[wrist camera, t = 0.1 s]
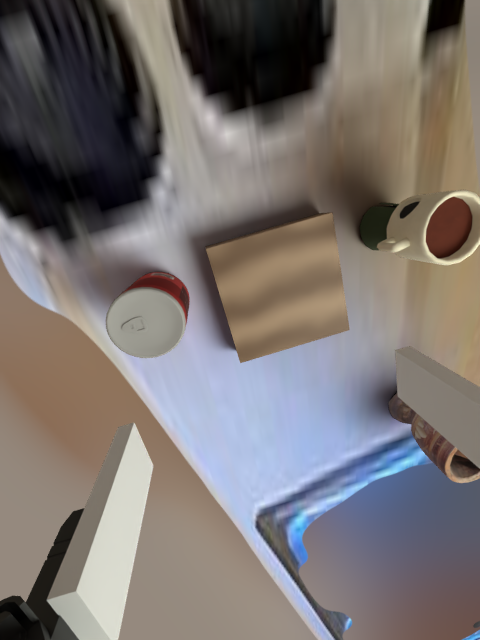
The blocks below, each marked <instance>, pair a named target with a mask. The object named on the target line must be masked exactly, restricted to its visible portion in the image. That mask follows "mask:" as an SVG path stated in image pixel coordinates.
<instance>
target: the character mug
mask: <svg viewBox="0 0 480 640" xmlns="http://www.w3.org/2000/svg"><path fill="white" fill-rule="evenodd" d="M380 204H389V205H393V206H385V207H371V208H370V209H369V210H368V211H367V212H366V214H365V215H364V216H363V219H362V221H361V224H360V232H361V238H362V239H363V241H364V243H365V245H366V246H367V247H369V248H370V249H372V250H380V251H385V252H394V253H395V254H396V255H398V256H399V257H402V258H407V259H412V260H418V261H424V262H429V263H435V264H441V265H450V264H454V263H459V262H461V261H462V260H464V259H465V258H467V257H468V256H470V255H471V254H472V253H473V252H474V251H475V249H476V248H477V247H478V246H479V245H480V197H479V196H478V195H477V194H476V193H474V192H471V191H468V190H455V191H445V192H439V193H432V194H422V195H416V196H412V197H409V198H407V199H405V200H404V201H402V202H401V203H400V204H393V203H380Z"/></svg>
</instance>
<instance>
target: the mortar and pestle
mask: <svg viewBox="0 0 480 640" xmlns="http://www.w3.org/2000/svg"><path fill="white" fill-rule="evenodd" d="M388 404H389V410H390V413H391V415H392V417H393V418H394V419H396V420H398V421H400V422H402V423H407V424H412V425H411V431H412V434H413V437H414V438H415V440H416V442H417V443H418V445H419V446H420V448H421V449H422V451H423V452H424V453H425V454H426V455H427V456H428V457H429V459H430V460H431V461H432V462H433V463H434V464H435V465H436V466H437V467H438V468H439V469H440V470H441V471H442V472H443V473H444V474H445V475H446V476H447V477H449V479H451V480H452V481H454V482H458V483H464V482H471V481H473V480H476V479H479V478H480V468H478V467H477V466H476V465H475V464H474V463H473V462H472V461H470V460H469V459H468V458H467V457H466V456H465V455H464V454H463V453H461V452H460V451H459V450H458V449H457V448H456V447H455V446H453V445H452V444H451V443H450V442H449V441H448V440H447V439H445V438H444V437H443V436H442V435H441V434H440V433H439V432H438V431H436V430H435V429H434V428H433V427H432V426H431V425H430V424H428V423H427V422H426V421H425V420H424V419H423V418H422V417H421V416H419V415H418V414H417V413H416V412H415V411H414V410H413V409H411V408H410V407H409V406H408V405H407V404H406V403H405V402H404V401H402V400H401V399H400V398H399V397H398V393H396V394H395V395H394V396H393V398H392V399H391V400H390V401H389V403H388Z"/></svg>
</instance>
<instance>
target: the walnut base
mask: <svg viewBox="0 0 480 640" xmlns="http://www.w3.org/2000/svg"><path fill="white" fill-rule="evenodd" d="M206 251H207V255H208V258H209V261H210V264H211V268H212V271H213V274H214V278H215V281H216V284H217V288H218V291H219V294H220V297H221V301H222V304H223V307H224V311H225V314H226V317H227V320H228V324H229V327H230V330H231V334H232V337H233V340H234V344H235V347H236V350H237V353H238V357H239V360H240V363H242V362H245V361H249V360H252V359H255V358H259V357H262V356H265V355H269V354H272V353H275V352H278V351H282V350H285V349H288V348H292V347H295V346H298V345H301V344H305V343H308V342H311V341H315V340H318V339H321V338H325V337H328V336H331V335H334V334H338V333H341V332H344V331H348V330H349V323H348V316H347V309H346V302H345V295H344V288H343V282H342V275H341V268H340V261H339V254H338V247H337V240H336V234H335V227H334V220H333V213H332V212H331V213H320V214H316V215H313V216H309V217H306V218H302V219H299V220H295V221H292V222H289V223H285V224H282V225H278V226H275V227H271V228H268V229H264V230H261V231H257V232H254V233H251V234H247V235H244V236H240V237H237V238H233V239H230V240H226V241H223V242H219V243H216V244H213V245H209V246H206Z"/></svg>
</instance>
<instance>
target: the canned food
mask: <svg viewBox="0 0 480 640" xmlns="http://www.w3.org/2000/svg"><path fill="white" fill-rule="evenodd" d="M188 309H189V293H188V291H187V288H186V287H185V285H184V284H183V283H182V282H181V281H180V280H179V279H178V278H177V277H175V276H173V275H171V274H168V273H164V272H153V273H149V274H146V275H144V276H142V277H141V278H139V279H138V280H137V281H136V282H134V283H133V284H132V285H131V286H130V287H128V288H127V289H126V290H125V291H124V292H123V293H121V294H120V295H119V296H118V297H117V298H116V299H115V300H114V302H113V303H112V304H111V306H110V308H109V310H108V312H107V316H106V329H107V332H108V335H109V337H110V339H111V341H112V342H113V343H114V344H115V345H116V346H117V347H118V348H119V349H120V350H122V351H123V352H125V353H127V354H129V355H132V356H135V357H140V358H153V357H158V356H161V355H164V354H166V353H168V352H170V351H171V350H172V349H173V348H175V347H176V346H177V344H178V343H179V342H180V340H181V338H182V336H183V334H184V331H185V327H186V323H187V316H188Z"/></svg>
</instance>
